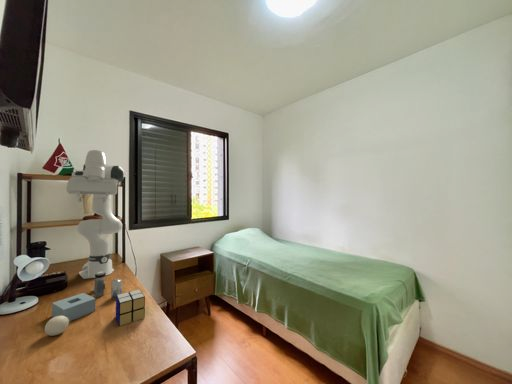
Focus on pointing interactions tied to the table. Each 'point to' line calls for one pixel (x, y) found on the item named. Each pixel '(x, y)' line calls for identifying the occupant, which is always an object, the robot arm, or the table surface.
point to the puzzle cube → (130, 307)
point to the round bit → (116, 288)
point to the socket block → (74, 306)
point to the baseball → (56, 325)
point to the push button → (100, 276)
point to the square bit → (99, 287)
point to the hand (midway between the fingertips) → (92, 201)
